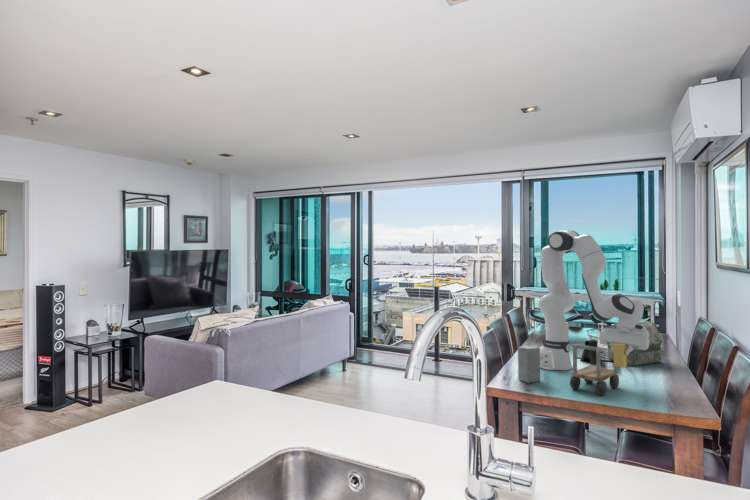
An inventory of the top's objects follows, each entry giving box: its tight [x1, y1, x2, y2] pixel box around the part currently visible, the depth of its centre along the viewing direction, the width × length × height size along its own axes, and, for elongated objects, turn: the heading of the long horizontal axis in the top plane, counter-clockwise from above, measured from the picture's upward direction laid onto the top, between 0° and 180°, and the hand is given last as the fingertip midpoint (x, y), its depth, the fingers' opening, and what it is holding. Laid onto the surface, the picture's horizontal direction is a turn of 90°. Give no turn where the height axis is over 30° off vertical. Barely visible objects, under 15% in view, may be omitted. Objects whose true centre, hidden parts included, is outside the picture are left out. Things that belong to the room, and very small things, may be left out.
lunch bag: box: [607, 320, 663, 367], centre depth 243 cm, size 26×18×22 cm
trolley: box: [569, 343, 620, 397], centre depth 198 cm, size 13×20×20 cm, turn 131°
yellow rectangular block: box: [613, 343, 628, 369], centre depth 202 cm, size 4×4×10 cm
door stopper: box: [580, 339, 603, 366], centre depth 242 cm, size 9×6×12 cm, turn 25°
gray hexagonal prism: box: [517, 345, 541, 384], centre depth 211 cm, size 8×7×16 cm
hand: (619, 353), depth 202 cm, fingers closed on yellow rectangular block, 4 cm apart
